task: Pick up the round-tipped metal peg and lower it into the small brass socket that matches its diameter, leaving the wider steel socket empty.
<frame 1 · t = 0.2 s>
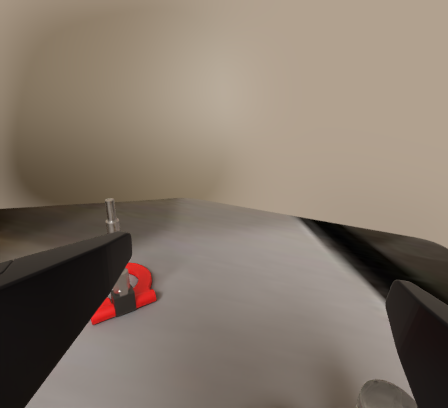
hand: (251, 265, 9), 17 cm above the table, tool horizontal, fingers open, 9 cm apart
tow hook: (116, 291, 32), on the table
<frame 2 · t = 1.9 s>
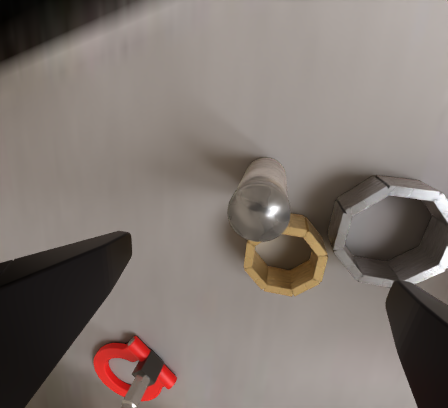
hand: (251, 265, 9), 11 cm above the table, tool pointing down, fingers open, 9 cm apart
round-tipped metal peg: (265, 177, 20), on the table
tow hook: (134, 365, 31), on the table
small brass socket: (283, 245, 21), on the table
wide steel socket: (381, 224, 19), on the table
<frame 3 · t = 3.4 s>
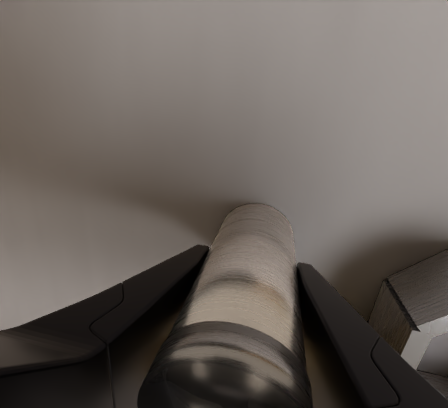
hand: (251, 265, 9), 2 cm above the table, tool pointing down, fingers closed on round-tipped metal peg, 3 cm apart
round-tipped metal peg: (255, 237, 11), on the table, touching gripper
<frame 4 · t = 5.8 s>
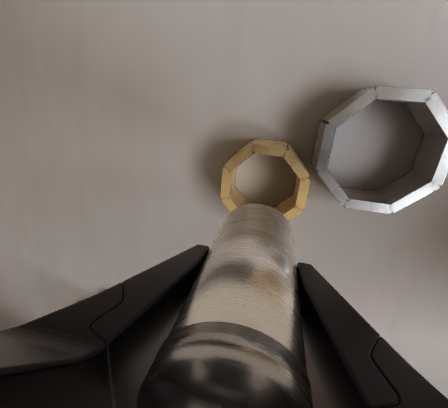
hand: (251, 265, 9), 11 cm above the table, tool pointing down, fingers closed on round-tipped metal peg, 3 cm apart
round-tipped metal peg: (255, 237, 11), point 9 cm above the table, touching gripper
small brass socket: (265, 178, 19), on the table
wide steel socket: (370, 147, 17), on the table
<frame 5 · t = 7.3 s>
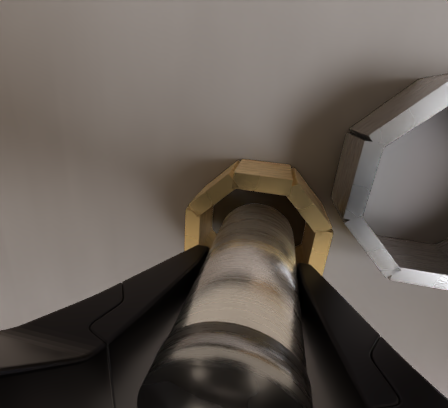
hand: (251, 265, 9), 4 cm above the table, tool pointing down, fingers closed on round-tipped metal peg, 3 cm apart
round-tipped metal peg: (255, 237, 11), point 2 cm above the table, touching gripper
small brass socket: (257, 219, 13), on the table
wide steel socket: (429, 176, 11), on the table
when the fingers open (3 cm above the table, at t = 8.4 s): round-tipped metal peg drops 1 cm, resting in small brass socket.
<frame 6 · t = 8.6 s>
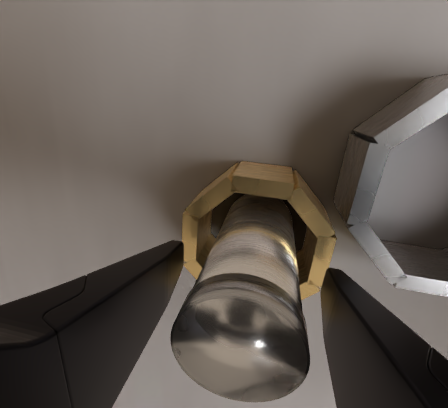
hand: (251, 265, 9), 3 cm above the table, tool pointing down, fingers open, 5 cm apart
round-tipped metal peg: (259, 222, 12), resting in small brass socket
small brass socket: (257, 223, 12), on the table
wide steel socket: (435, 179, 10), on the table
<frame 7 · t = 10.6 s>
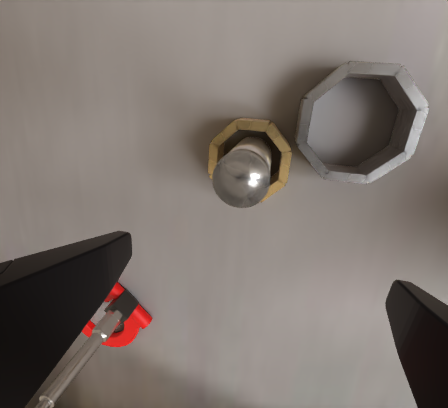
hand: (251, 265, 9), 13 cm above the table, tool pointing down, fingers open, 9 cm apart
round-tipped metal peg: (252, 156, 21), resting in small brass socket
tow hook: (110, 309, 30), on the table
small brass socket: (251, 156, 20), on the table
wide steel socket: (348, 124, 18), on the table
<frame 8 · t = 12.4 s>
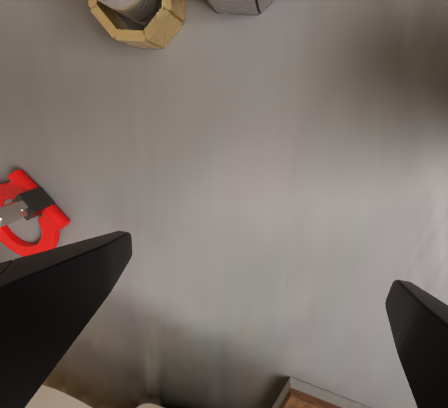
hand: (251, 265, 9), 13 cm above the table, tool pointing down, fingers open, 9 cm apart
round-tipped metal peg: (147, 2, 18), resting in small brass socket
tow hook: (29, 217, 28), on the table
small brass socket: (146, 2, 18), on the table
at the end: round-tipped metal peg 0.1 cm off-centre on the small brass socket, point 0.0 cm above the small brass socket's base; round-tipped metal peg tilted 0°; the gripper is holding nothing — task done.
